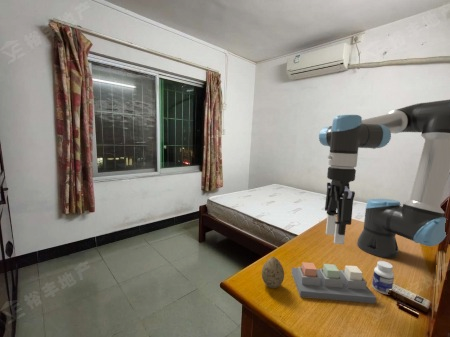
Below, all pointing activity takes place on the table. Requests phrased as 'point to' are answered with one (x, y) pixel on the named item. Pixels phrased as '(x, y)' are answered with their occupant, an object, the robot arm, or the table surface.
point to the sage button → (331, 271)
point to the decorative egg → (273, 273)
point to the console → (332, 287)
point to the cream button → (353, 273)
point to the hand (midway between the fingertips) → (334, 238)
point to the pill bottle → (383, 277)
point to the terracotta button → (309, 269)
